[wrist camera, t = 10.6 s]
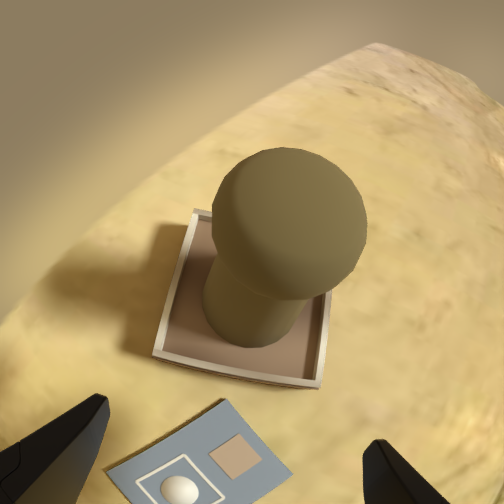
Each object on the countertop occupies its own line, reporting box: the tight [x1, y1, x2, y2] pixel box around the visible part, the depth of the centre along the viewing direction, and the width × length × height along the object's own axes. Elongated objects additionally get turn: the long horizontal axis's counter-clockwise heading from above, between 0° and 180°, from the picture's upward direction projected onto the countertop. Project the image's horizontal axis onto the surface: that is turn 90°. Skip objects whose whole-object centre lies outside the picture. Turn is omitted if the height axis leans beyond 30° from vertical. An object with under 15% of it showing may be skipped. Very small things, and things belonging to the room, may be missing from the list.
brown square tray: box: [152, 208, 332, 390], centre depth 19 cm, size 10×10×3 cm
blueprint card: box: [106, 399, 293, 504], centre depth 14 cm, size 10×7×1 cm
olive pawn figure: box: [202, 147, 367, 348], centre depth 13 cm, size 6×6×11 cm
